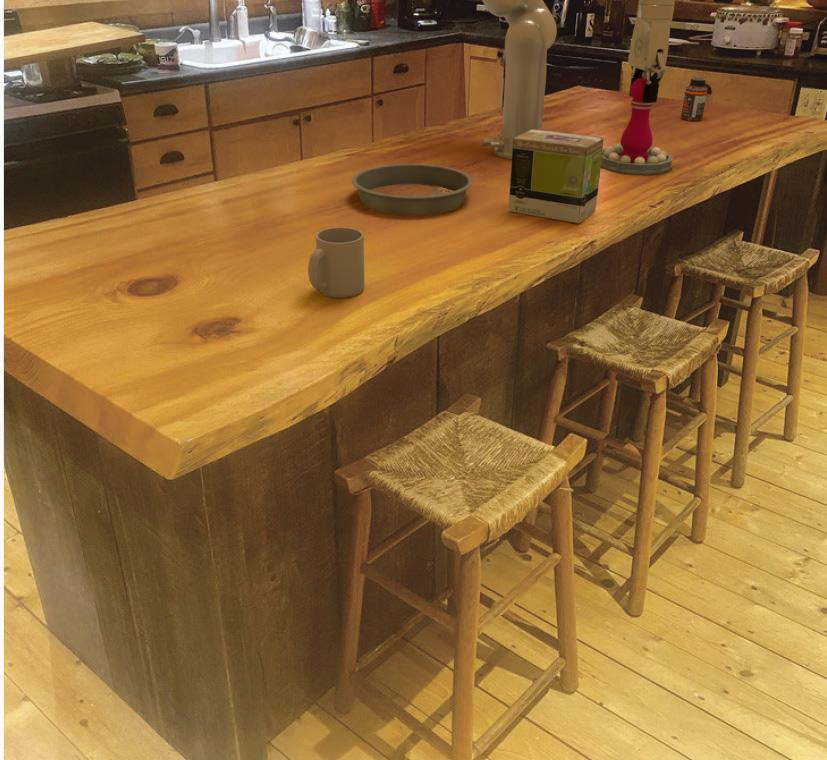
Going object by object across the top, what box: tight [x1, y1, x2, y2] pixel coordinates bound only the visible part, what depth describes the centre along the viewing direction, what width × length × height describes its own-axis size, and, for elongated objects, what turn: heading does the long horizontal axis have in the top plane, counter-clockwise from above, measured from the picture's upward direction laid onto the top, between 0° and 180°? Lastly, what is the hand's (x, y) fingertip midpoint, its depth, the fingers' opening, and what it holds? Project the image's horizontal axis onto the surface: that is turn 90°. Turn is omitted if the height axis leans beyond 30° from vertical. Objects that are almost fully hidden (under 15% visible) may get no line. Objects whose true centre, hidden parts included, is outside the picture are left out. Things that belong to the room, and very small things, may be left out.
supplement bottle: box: [680, 76, 708, 122], centre depth 237 cm, size 6×6×11 cm
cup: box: [307, 226, 365, 299], centre depth 127 cm, size 7×10×9 cm
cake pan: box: [351, 163, 473, 217], centre depth 171 cm, size 25×25×4 cm
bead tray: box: [600, 143, 674, 177], centre depth 195 cm, size 17×17×4 cm
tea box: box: [508, 129, 605, 224], centre depth 162 cm, size 15×10×15 cm
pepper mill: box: [619, 70, 654, 163], centre depth 190 cm, size 7×7×20 cm
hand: (642, 98), depth 188 cm, fingers open, 6 cm apart
